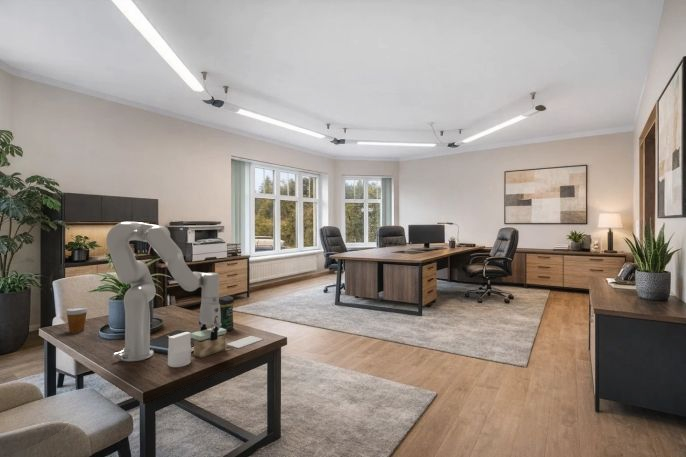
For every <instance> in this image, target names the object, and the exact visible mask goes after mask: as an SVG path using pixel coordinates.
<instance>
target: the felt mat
mask: <svg viewBox="0 0 686 457" xmlns="http://www.w3.org/2000/svg"><path fill="white" fill-rule="evenodd" d="M262 341H264V339H263V338H260V337H258V336H253V335H249V336H246V337H242V338H240V339H237V340H234V341H231V342H228V343H225V346H229V347H231V348H234V349H235V348H236V349H238V350H239V349H241V348H245V347H246V346H249V345H253V344H255V343H258V342H262Z"/></svg>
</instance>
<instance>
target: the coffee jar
mask: <svg viewBox="0 0 686 457" xmlns="http://www.w3.org/2000/svg"><path fill="white" fill-rule="evenodd" d="M219 304H220V312H221V324H222V325H221V327H220V328H223V329H226V332H229V331H231V330H233V329H234V312H233V311H234V304H235V298H234V296H230V295H226V296H221V297H219Z"/></svg>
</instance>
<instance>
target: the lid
mask: <svg viewBox="0 0 686 457" xmlns="http://www.w3.org/2000/svg"><path fill="white" fill-rule="evenodd" d="M213 327H214V328H215V326H213ZM211 332H212V330H211V327H210V328H207V329H206V330H202V331H200V330H198V331H194V332H190V333H191V339H194V340H196V339H197V340H204V339H208V338H211ZM222 334H224V335H226V334H227V331H226V329H223V328H220V329H219V331H218V334H217V336H218V335H222Z"/></svg>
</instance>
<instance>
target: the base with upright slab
mask: <svg viewBox="0 0 686 457" xmlns="http://www.w3.org/2000/svg"><path fill="white" fill-rule="evenodd" d="M191 333H192V332H190V331H185V332H180V333H177V334H173V335H171V336H168V349H167V366H168V367H170V368H181V367H184V366H187V365H190V364H191V363H192V346H191V344H192V343H191V339H192V338H191Z"/></svg>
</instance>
